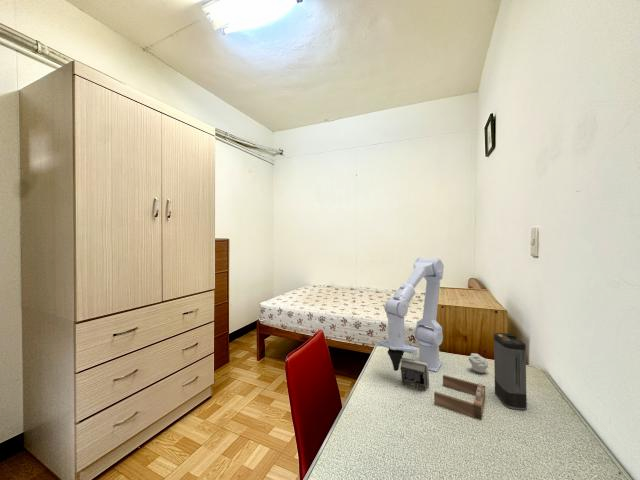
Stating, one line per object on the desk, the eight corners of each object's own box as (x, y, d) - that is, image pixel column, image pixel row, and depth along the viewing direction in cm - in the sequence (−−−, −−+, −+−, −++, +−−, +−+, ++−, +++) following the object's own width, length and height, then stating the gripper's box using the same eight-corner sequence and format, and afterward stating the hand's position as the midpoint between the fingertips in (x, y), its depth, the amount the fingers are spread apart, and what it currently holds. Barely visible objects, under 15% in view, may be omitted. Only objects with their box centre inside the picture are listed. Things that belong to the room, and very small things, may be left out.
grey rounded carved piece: (465, 368, 105) (464, 350, 105) (482, 368, 104) (482, 350, 104) (473, 375, 99) (473, 357, 99) (492, 376, 98) (492, 357, 98)
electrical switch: (429, 386, 91) (429, 361, 90) (427, 395, 87) (426, 368, 86) (402, 379, 96) (401, 355, 95) (398, 387, 92) (397, 361, 91)
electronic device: (529, 411, 77) (528, 343, 78) (506, 408, 79) (505, 342, 79) (512, 393, 87) (511, 333, 87) (492, 391, 88) (492, 332, 88)
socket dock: (443, 384, 92) (443, 369, 92) (485, 396, 85) (485, 379, 85) (434, 404, 81) (434, 386, 81) (481, 420, 74) (481, 400, 74)
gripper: (373, 331, 97) (373, 368, 96) (412, 339, 88) (413, 380, 88) (380, 326, 102) (381, 361, 102) (418, 334, 94) (419, 372, 93)
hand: (396, 369), depth 95 cm, fingers closed
